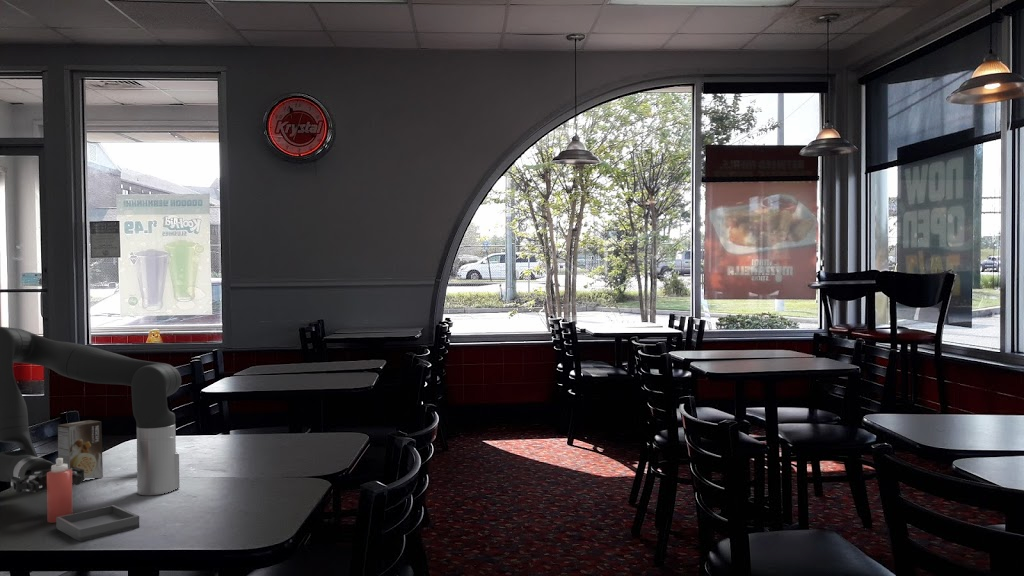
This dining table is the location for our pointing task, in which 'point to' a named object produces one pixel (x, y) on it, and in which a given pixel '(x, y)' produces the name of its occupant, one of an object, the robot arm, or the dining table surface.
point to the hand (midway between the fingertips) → (58, 483)
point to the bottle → (59, 491)
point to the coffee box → (82, 446)
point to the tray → (97, 522)
